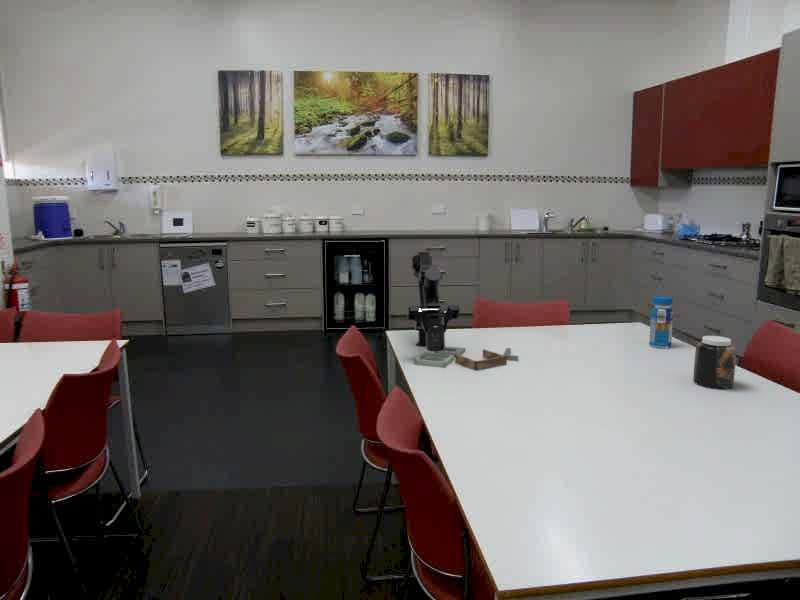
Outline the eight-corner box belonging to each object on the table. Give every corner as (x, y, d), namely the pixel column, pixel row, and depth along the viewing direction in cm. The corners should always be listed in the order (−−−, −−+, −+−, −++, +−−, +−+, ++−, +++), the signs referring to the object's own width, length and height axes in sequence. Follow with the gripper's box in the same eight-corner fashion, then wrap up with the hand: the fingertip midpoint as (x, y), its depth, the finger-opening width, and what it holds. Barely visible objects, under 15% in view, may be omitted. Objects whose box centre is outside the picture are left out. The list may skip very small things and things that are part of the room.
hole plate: (440, 348, 254) (440, 346, 254) (465, 351, 251) (465, 348, 251) (433, 355, 245) (433, 352, 245) (458, 357, 242) (458, 354, 242)
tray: (424, 356, 243) (424, 352, 243) (454, 359, 239) (454, 354, 239) (414, 364, 232) (414, 359, 232) (445, 367, 228) (445, 362, 228)
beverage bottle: (644, 345, 259) (647, 296, 255) (659, 342, 262) (662, 294, 259) (660, 349, 251) (663, 299, 248) (676, 347, 255) (679, 297, 251)
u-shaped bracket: (455, 362, 234) (455, 354, 234) (484, 357, 242) (484, 349, 241) (476, 370, 225) (476, 362, 224) (506, 364, 232) (506, 356, 231)
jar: (691, 386, 206) (695, 340, 203) (694, 376, 216) (697, 333, 213) (733, 391, 200) (737, 344, 198) (733, 381, 211) (737, 336, 208)
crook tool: (506, 352, 249) (506, 348, 249) (521, 353, 248) (521, 349, 247) (502, 360, 238) (502, 355, 238) (517, 361, 236) (517, 356, 236)
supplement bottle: (448, 348, 236) (447, 316, 233) (439, 352, 230) (438, 320, 228) (432, 346, 239) (431, 314, 237) (422, 350, 234) (421, 318, 231)
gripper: (453, 307, 249) (457, 342, 240) (404, 308, 247) (408, 344, 238) (457, 291, 240) (462, 326, 231) (407, 292, 238) (410, 328, 229)
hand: (435, 331), depth 232 cm, fingers closed on supplement bottle, 7 cm apart
